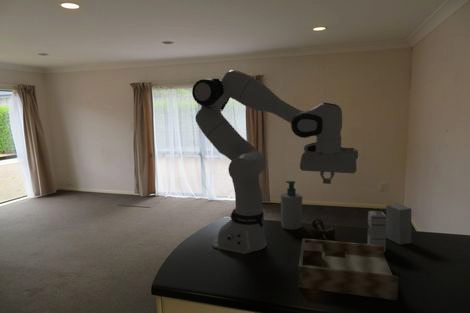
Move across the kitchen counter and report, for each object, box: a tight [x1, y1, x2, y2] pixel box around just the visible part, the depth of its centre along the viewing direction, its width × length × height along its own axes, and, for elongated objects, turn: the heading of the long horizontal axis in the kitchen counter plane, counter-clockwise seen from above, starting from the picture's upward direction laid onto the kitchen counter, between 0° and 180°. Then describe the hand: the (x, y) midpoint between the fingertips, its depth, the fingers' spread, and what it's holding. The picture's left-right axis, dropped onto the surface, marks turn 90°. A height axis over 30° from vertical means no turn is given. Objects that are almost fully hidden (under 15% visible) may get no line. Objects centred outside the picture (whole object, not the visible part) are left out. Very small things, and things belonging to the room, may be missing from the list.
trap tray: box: [297, 238, 400, 301], centre depth 101 cm, size 28×22×7 cm
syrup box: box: [366, 210, 387, 252], centre depth 120 cm, size 6×6×14 cm
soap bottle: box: [280, 180, 303, 231], centre depth 145 cm, size 10×9×22 cm
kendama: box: [310, 218, 336, 241], centre depth 133 cm, size 6×10×20 cm
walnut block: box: [303, 243, 322, 266], centre depth 103 cm, size 6×6×5 cm
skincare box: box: [385, 203, 412, 246], centre depth 127 cm, size 8×6×15 cm
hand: (326, 183), depth 114 cm, fingers closed
